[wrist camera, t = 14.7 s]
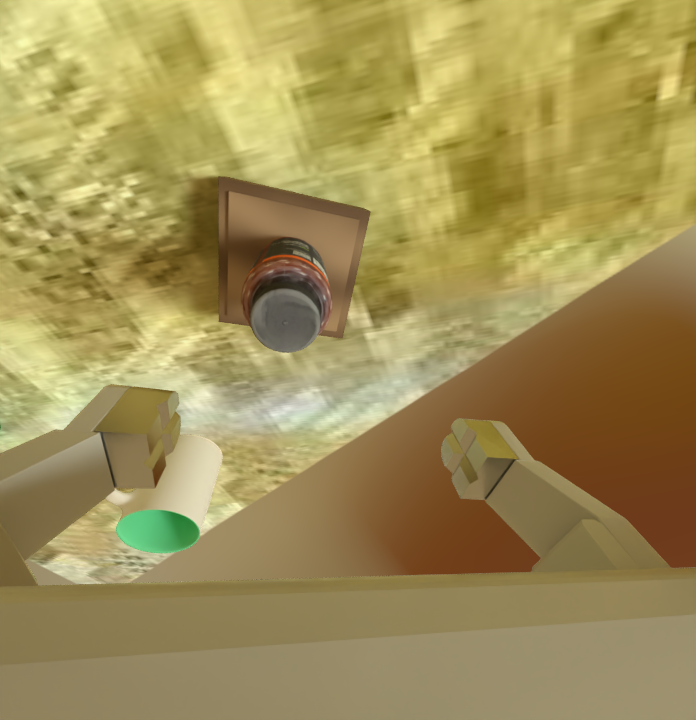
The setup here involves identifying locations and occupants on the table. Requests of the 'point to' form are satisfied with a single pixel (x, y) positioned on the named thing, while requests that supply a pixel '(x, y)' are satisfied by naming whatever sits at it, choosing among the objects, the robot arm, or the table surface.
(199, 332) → the table surface
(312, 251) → the supplement bottle
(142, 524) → the mug
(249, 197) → the brown box
